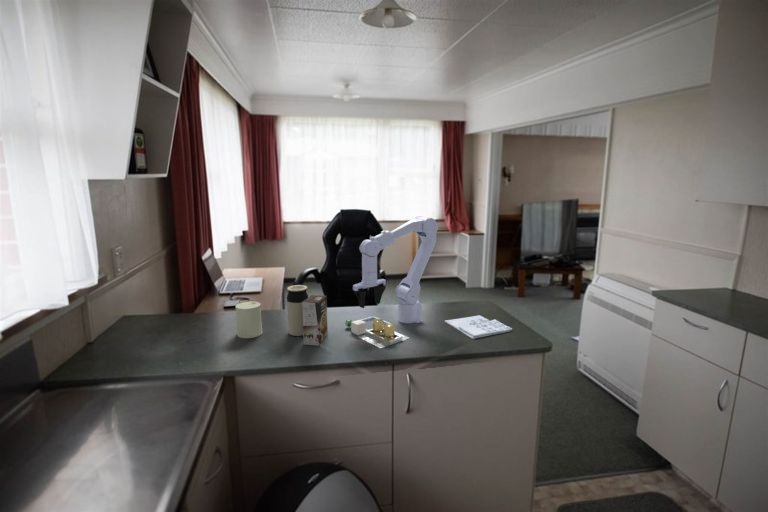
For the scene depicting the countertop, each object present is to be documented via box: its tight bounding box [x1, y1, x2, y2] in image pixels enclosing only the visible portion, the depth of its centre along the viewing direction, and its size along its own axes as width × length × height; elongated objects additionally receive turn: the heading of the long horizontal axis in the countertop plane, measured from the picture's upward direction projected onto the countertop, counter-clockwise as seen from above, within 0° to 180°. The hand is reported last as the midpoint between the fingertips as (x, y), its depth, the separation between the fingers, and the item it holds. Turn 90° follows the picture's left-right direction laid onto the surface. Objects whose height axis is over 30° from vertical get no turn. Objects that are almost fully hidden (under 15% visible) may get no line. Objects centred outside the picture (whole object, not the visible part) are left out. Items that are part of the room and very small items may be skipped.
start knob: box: [344, 318, 353, 328], centre depth 159 cm, size 3×7×3 cm, turn 40°
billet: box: [371, 318, 384, 335], centre depth 154 cm, size 4×4×6 cm
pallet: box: [358, 327, 410, 349], centre depth 151 cm, size 14×13×3 cm
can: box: [235, 300, 264, 339], centre depth 157 cm, size 9×9×12 cm
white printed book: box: [444, 315, 513, 340], centre depth 166 cm, size 19×20×2 cm
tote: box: [360, 315, 393, 331], centre depth 165 cm, size 12×12×2 cm
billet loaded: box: [383, 323, 396, 340], centre depth 149 cm, size 4×4×6 cm
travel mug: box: [286, 284, 309, 337], centre depth 158 cm, size 8×8×18 cm
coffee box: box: [302, 294, 329, 347], centre depth 150 cm, size 9×6×16 cm
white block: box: [350, 319, 367, 336], centre depth 156 cm, size 4×4×5 cm
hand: (369, 305), depth 161 cm, fingers open, 7 cm apart
